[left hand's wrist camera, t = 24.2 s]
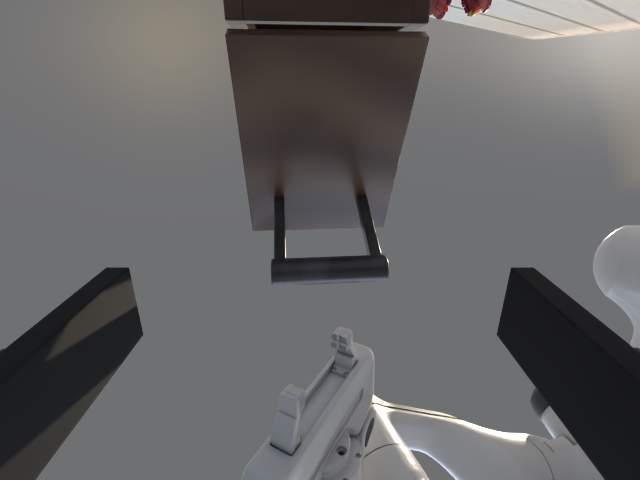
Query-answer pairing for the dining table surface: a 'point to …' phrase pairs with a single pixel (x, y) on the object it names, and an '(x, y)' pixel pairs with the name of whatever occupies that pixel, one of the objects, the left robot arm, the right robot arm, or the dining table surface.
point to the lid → (323, 136)
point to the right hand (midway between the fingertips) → (319, 358)
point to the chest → (328, 14)
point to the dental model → (473, 3)
